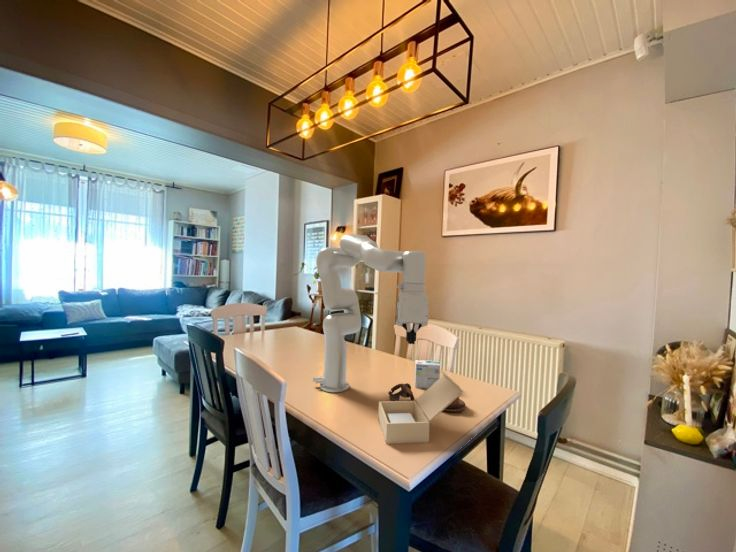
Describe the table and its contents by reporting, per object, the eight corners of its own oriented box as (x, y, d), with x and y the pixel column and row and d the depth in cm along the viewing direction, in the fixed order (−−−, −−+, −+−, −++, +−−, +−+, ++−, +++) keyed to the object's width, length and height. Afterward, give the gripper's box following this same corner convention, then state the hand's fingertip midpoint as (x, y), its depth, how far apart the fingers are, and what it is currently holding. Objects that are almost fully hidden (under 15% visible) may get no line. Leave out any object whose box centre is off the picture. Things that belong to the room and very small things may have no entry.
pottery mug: (414, 412, 112) (403, 393, 112) (392, 417, 117) (382, 398, 116) (421, 392, 123) (411, 374, 123) (401, 397, 127) (392, 380, 127)
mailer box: (386, 443, 91) (386, 423, 90) (378, 418, 105) (378, 401, 105) (428, 442, 92) (429, 422, 92) (415, 417, 107) (415, 400, 107)
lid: (458, 385, 93) (463, 392, 93) (441, 369, 107) (445, 375, 108) (425, 415, 92) (430, 422, 92) (412, 395, 106) (417, 400, 107)
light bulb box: (437, 384, 140) (438, 360, 139) (439, 389, 133) (440, 365, 133) (414, 382, 141) (415, 359, 141) (414, 388, 134) (415, 363, 134)
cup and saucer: (461, 417, 109) (462, 400, 108) (428, 409, 114) (429, 393, 114) (467, 405, 119) (468, 389, 119) (437, 397, 125) (438, 382, 125)
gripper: (393, 288, 97) (391, 346, 98) (438, 289, 99) (436, 346, 100) (388, 287, 105) (386, 340, 105) (431, 288, 107) (428, 340, 107)
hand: (410, 343), depth 102 cm, fingers closed
